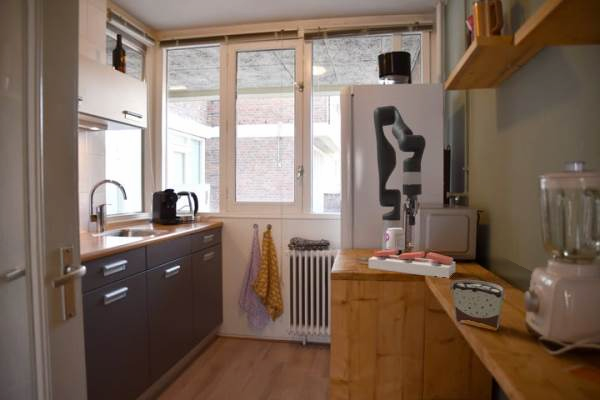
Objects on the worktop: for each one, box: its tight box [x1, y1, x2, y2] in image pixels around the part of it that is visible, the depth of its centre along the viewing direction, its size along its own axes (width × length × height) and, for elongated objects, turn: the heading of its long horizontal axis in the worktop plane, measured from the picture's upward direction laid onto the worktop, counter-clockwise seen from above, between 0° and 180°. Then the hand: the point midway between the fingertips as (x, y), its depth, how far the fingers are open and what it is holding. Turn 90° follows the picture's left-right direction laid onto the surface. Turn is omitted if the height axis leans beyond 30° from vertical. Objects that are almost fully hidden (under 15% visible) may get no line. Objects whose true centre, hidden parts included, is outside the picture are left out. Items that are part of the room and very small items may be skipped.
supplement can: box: [386, 227, 405, 256], centre depth 163 cm, size 8×8×15 cm
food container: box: [449, 279, 506, 329], centre depth 86 cm, size 12×6×10 cm, turn 48°
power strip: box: [356, 255, 456, 279], centre depth 145 cm, size 12×40×5 cm, turn 55°
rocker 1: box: [373, 249, 399, 257], centre depth 150 cm, size 6×9×2 cm, turn 55°
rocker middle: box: [399, 251, 426, 259], centre depth 144 cm, size 6×9×2 cm, turn 55°
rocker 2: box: [425, 251, 454, 265], centre depth 138 cm, size 6×9×2 cm, turn 55°
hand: (412, 225), depth 144 cm, fingers closed
